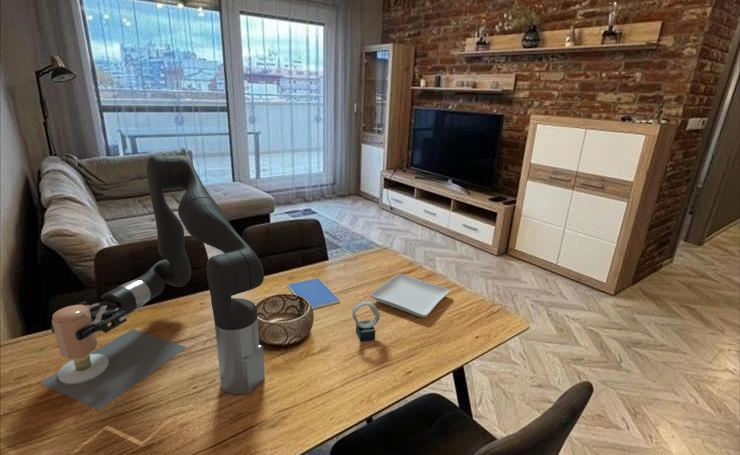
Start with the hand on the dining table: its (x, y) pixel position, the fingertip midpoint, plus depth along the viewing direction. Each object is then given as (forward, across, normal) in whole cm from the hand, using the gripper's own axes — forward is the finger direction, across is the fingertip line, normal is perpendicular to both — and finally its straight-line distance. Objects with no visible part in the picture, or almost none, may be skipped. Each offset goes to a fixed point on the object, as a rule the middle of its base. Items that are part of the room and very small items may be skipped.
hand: (64, 333), depth 90 cm
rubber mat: (-7, +6, +12) cm, 15 cm away
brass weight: (-2, 0, +11) cm, 11 cm away
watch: (-40, +60, +12) cm, 73 cm away
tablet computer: (-57, +35, +14) cm, 69 cm away
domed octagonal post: (-2, 0, +6) cm, 6 cm away
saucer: (-2, 0, +12) cm, 12 cm away
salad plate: (-65, +68, +13) cm, 95 cm away
